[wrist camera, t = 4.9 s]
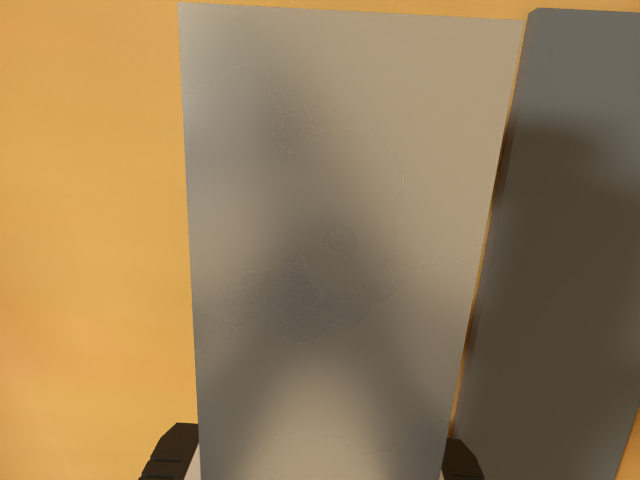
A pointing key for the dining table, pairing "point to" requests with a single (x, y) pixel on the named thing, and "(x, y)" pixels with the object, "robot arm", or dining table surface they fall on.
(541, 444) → the mat
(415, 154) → the rail
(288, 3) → the dining table surface
